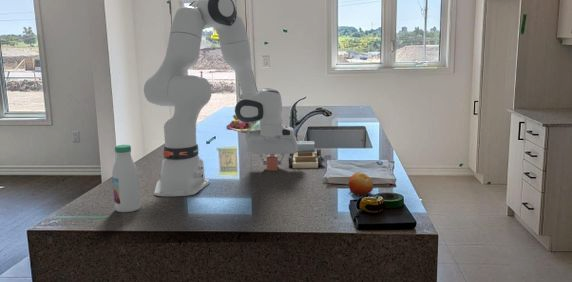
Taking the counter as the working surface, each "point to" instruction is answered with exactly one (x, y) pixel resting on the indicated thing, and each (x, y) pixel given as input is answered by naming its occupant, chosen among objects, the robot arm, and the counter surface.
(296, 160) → the chassis
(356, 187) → the fruit
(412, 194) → the counter surface
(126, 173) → the milk bottle
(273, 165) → the block
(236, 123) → the candy plate
